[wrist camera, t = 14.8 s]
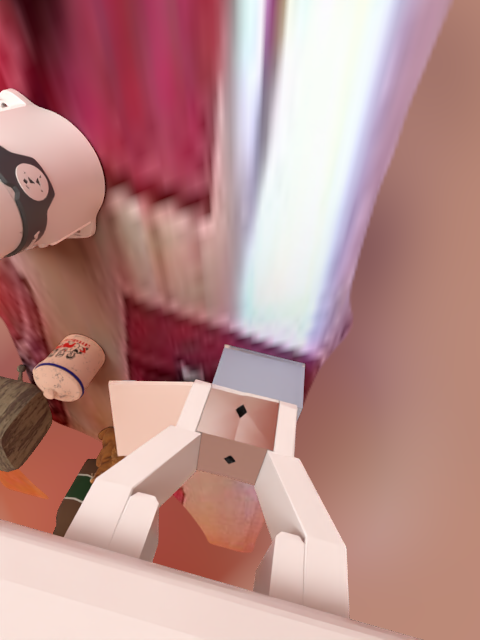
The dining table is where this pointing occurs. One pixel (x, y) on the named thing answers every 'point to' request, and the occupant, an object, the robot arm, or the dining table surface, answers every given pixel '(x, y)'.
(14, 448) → the brown cowbell
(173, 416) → the lid
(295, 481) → the robot arm
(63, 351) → the teacup with lid
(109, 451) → the stuffed squirrel
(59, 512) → the beer bottle
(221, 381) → the box
